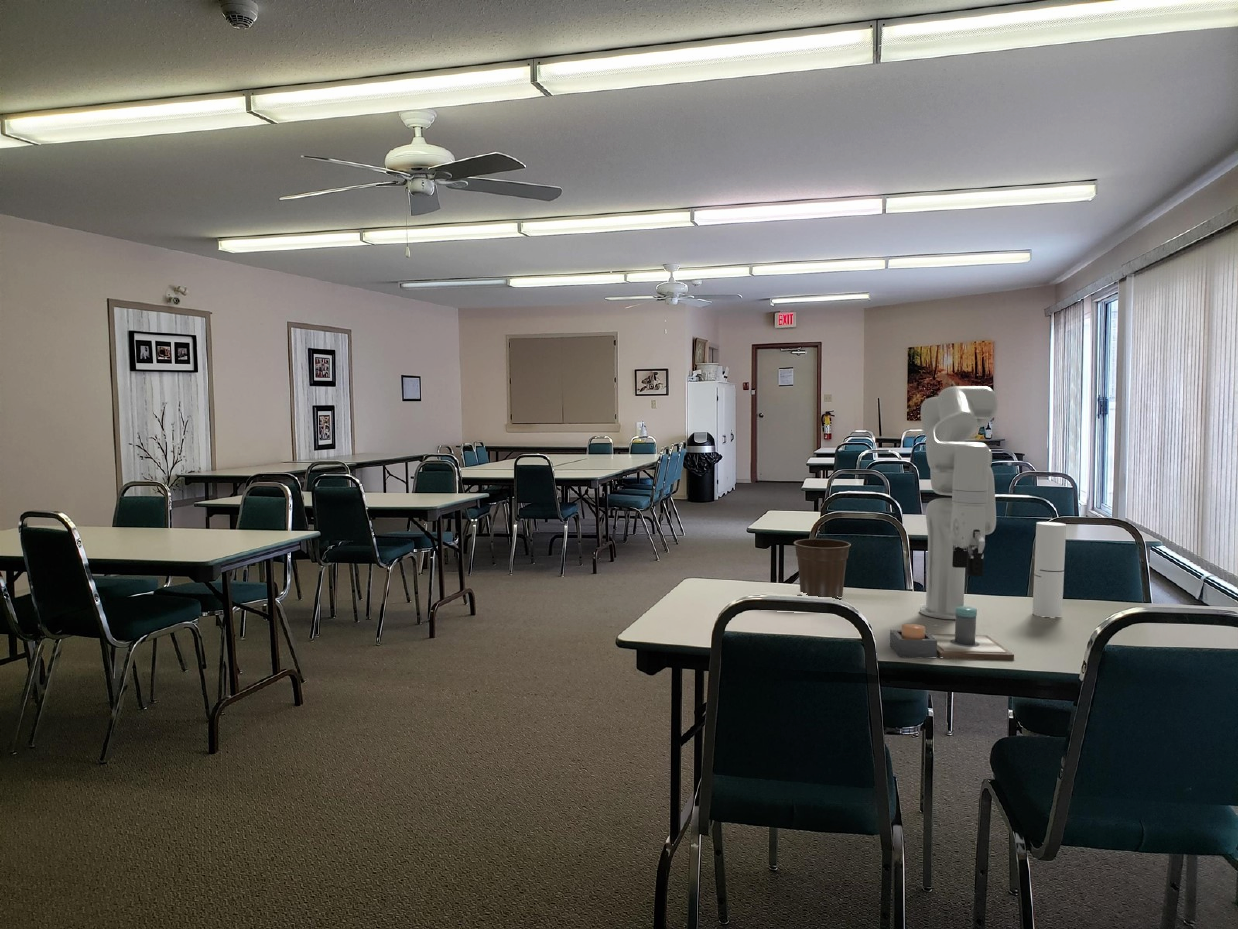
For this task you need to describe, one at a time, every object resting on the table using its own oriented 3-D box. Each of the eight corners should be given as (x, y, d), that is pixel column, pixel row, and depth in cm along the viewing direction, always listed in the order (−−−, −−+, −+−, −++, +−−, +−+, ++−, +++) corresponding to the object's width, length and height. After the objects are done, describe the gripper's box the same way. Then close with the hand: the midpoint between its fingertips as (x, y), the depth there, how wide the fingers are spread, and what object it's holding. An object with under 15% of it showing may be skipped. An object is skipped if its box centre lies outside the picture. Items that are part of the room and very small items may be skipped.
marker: (951, 639, 197) (952, 606, 197) (971, 640, 197) (972, 606, 196) (958, 645, 193) (959, 610, 192) (978, 645, 192) (979, 611, 192)
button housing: (889, 646, 196) (890, 629, 196) (925, 647, 195) (925, 630, 195) (899, 657, 188) (899, 639, 187) (936, 658, 187) (937, 640, 187)
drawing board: (919, 638, 203) (919, 632, 203) (986, 640, 202) (986, 634, 202) (940, 658, 187) (940, 651, 187) (1013, 660, 186) (1014, 653, 186)
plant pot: (800, 603, 239) (801, 547, 237) (786, 590, 255) (787, 538, 254) (856, 603, 239) (858, 547, 238) (839, 591, 255) (841, 538, 254)
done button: (898, 638, 194) (899, 623, 194) (920, 638, 194) (921, 624, 193) (904, 644, 189) (905, 629, 189) (927, 645, 189) (928, 629, 188)
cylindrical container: (1054, 619, 223) (1059, 526, 221) (1027, 614, 228) (1031, 523, 226) (1066, 615, 227) (1070, 524, 225) (1039, 610, 233) (1043, 521, 231)
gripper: (940, 493, 201) (938, 564, 202) (966, 502, 184) (963, 579, 185) (972, 494, 201) (969, 564, 202) (1001, 502, 183) (998, 579, 185)
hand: (966, 571), depth 193 cm, fingers open, 9 cm apart
